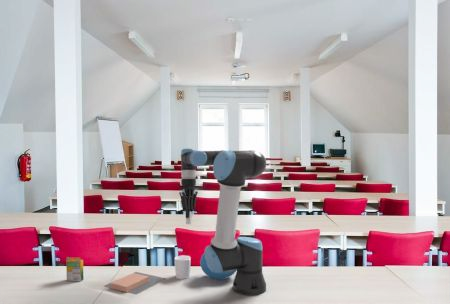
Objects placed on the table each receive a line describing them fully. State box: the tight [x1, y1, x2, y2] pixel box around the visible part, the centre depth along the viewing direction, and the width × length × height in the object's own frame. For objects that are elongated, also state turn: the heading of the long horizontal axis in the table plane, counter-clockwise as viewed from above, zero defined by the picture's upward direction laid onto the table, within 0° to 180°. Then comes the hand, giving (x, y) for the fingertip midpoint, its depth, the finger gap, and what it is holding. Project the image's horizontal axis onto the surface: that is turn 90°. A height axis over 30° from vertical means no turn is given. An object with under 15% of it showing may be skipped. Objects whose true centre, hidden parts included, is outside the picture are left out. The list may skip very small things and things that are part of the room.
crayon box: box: [65, 256, 84, 282], centre depth 193 cm, size 7×3×12 cm, turn 84°
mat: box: [104, 271, 168, 295], centre depth 188 cm, size 20×22×1 cm
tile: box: [109, 272, 149, 293], centre depth 185 cm, size 10×2×15 cm
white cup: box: [174, 254, 192, 280], centre depth 195 cm, size 8×8×10 cm
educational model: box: [199, 252, 237, 280], centre depth 195 cm, size 16×19×15 cm
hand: (188, 224), depth 205 cm, fingers closed
